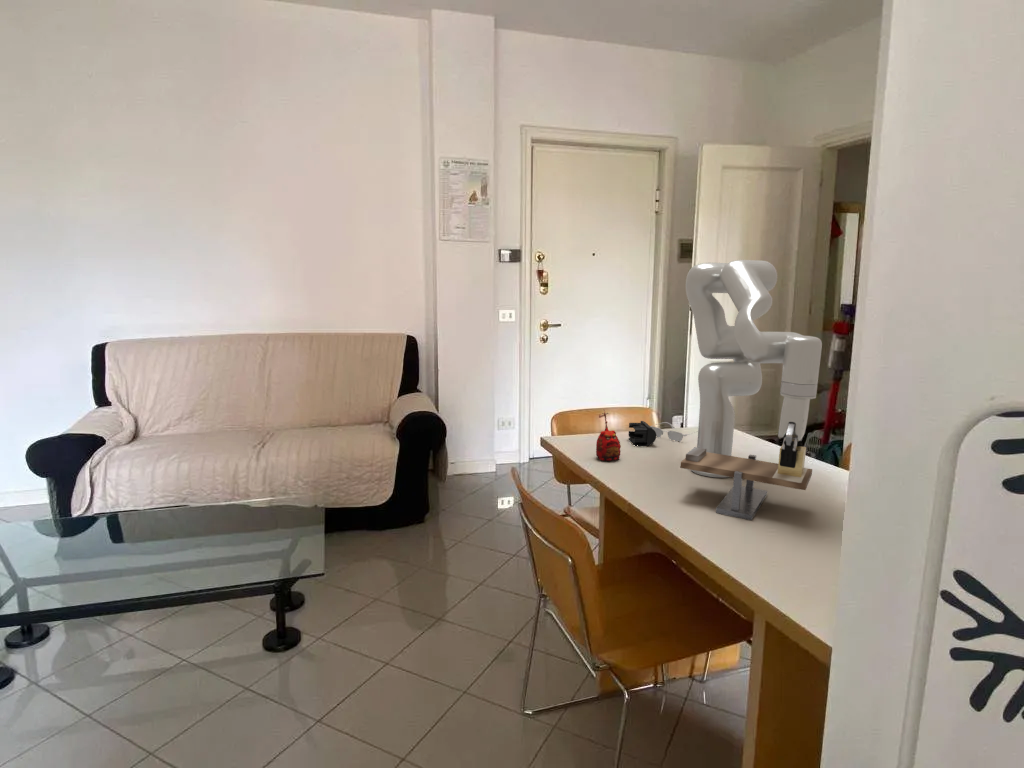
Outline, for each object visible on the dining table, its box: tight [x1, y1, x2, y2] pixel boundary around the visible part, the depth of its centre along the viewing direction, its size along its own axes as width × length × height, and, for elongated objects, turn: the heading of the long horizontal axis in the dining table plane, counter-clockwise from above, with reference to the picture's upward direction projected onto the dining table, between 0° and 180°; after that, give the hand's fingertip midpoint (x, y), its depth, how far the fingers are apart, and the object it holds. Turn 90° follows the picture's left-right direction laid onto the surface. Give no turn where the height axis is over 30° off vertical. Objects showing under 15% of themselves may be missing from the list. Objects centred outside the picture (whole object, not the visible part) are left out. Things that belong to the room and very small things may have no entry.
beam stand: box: [715, 454, 768, 521], centre depth 146 cm, size 8×20×10 cm, turn 148°
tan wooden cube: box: [777, 444, 807, 477], centre depth 139 cm, size 5×5×6 cm
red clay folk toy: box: [595, 409, 622, 462], centre depth 181 cm, size 8×7×15 cm
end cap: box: [628, 420, 657, 447], centre depth 201 cm, size 10×7×7 cm
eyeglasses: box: [649, 421, 698, 443], centre depth 214 cm, size 15×18×4 cm
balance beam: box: [680, 446, 813, 491], centre depth 145 cm, size 28×14×3 cm, turn 58°
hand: (790, 461), depth 140 cm, fingers open, 9 cm apart
